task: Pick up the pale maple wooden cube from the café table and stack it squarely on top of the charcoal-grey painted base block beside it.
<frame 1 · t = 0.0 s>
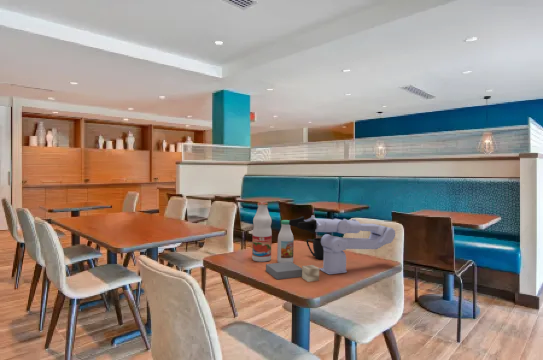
hand: (293, 223, 135), 22 cm above the table, tool horizontal, fingers open, 7 cm apart
milk bottle: (285, 262, 157), on the table
maple cube: (310, 279, 132), on the table
fruit juice: (261, 259, 161), on the table
mug: (317, 258, 166), on the table
grey base: (284, 273, 139), on the table
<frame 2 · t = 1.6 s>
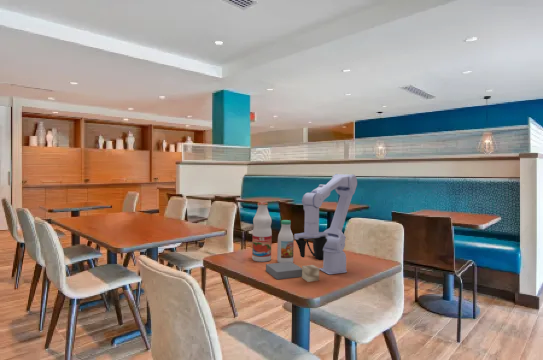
hand: (310, 256, 132), 9 cm above the table, tool pointing down, fingers open, 7 cm apart
nothing on the table moved.
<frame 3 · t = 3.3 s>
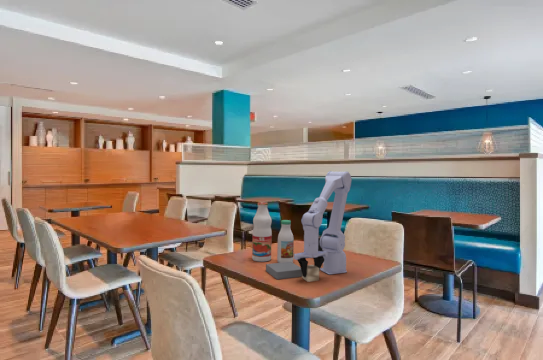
hand: (310, 275, 132), 1 cm above the table, tool pointing down, fingers closed on maple cube, 5 cm apart
maple cube: (310, 279, 132), on the table, touching gripper
everything else where it was.
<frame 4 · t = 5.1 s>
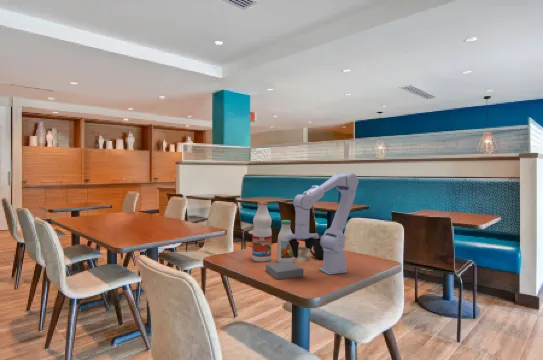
hand: (301, 256, 134), 8 cm above the table, tool pointing down, fingers closed on maple cube, 5 cm apart
maple cube: (301, 260, 134), point 7 cm above the table, touching gripper
everything else where it was.
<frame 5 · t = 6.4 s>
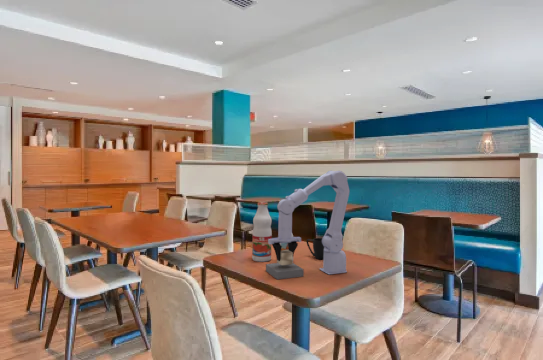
hand: (284, 259, 139), 6 cm above the table, tool pointing down, fingers closed on maple cube, 5 cm apart
maple cube: (284, 263, 139), point 4 cm above the table, touching gripper
everything else where it was.
when the fingers open (6 cm above the table, at t = 7.1 s): maple cube drops 1 cm, resting on grey base.
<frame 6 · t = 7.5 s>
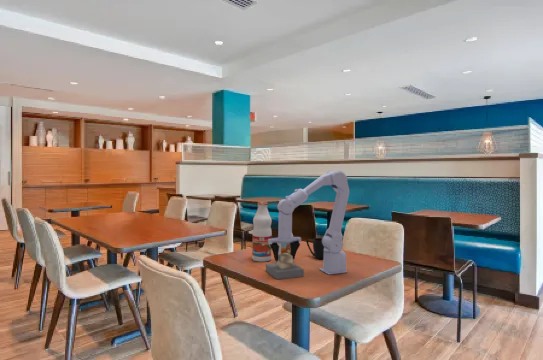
hand: (284, 259, 139), 6 cm above the table, tool pointing down, fingers open, 7 cm apart
maple cube: (284, 266, 139), point 3 cm above the table, touching grey base
everything else where it was.
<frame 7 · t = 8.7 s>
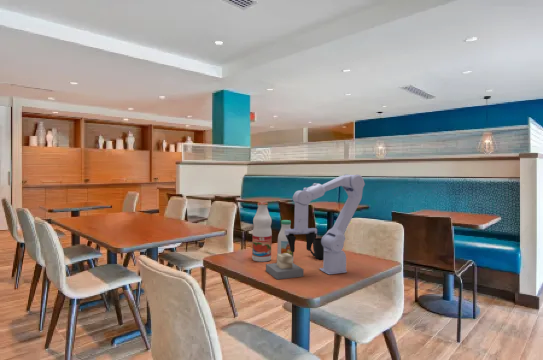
hand: (300, 251, 138), 10 cm above the table, tool pointing down, fingers open, 7 cm apart
nothing on the table moved.
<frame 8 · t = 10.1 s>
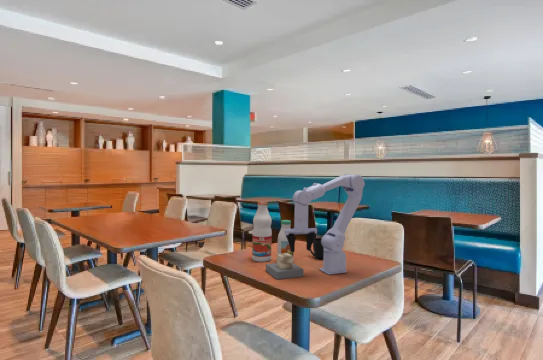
hand: (300, 251, 138), 10 cm above the table, tool pointing down, fingers open, 7 cm apart
nothing on the table moved.
at the end: maple cube inside the target area on the grey base (0.1 cm from its centre), point 3.0 cm above the grey base's base; maple cube tilted 0°; the gripper is holding nothing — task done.
